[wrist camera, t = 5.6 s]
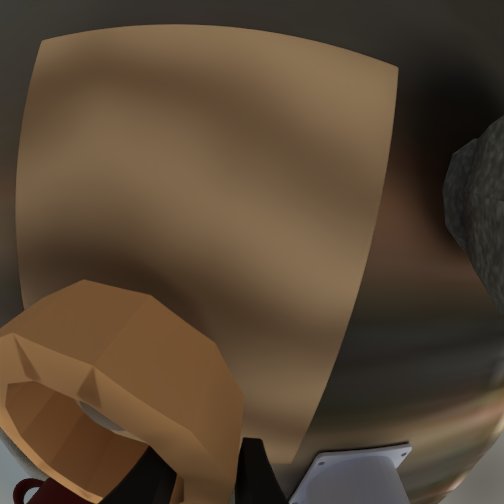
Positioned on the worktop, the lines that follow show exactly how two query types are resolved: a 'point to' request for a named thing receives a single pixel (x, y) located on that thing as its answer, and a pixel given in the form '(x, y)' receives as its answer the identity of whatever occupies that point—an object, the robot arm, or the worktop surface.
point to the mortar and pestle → (479, 206)
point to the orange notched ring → (119, 393)
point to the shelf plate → (211, 194)
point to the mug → (46, 493)
